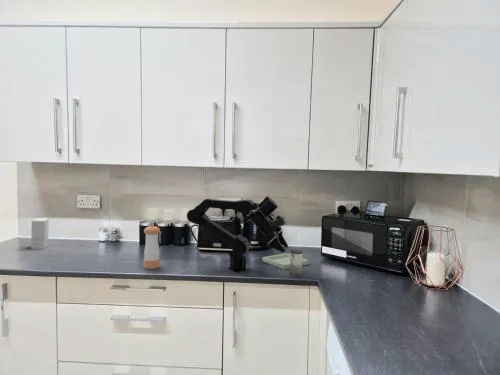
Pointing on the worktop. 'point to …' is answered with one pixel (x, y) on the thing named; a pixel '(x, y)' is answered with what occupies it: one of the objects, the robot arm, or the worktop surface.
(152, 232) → the pepper shaker
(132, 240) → the worktop surface
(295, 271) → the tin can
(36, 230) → the skincare box
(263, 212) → the robot arm
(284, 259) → the tray
